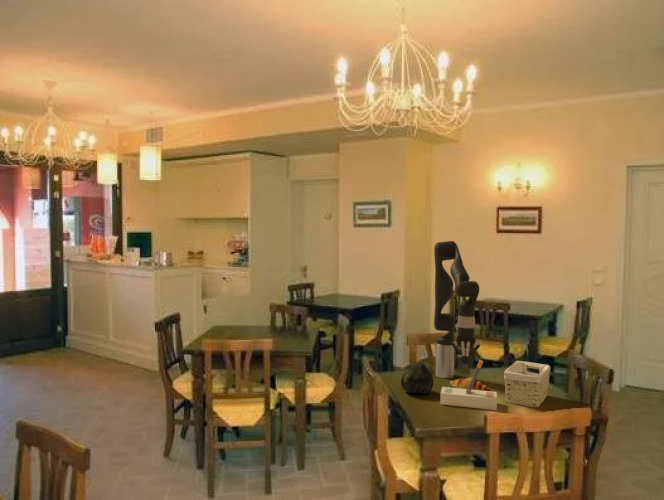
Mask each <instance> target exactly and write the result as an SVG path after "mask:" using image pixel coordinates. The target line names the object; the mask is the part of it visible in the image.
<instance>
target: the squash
mask: <svg viewBox="0 0 664 500" xmlns="http://www.w3.org/2000/svg"><path fill="white" fill-rule="evenodd" d="M400 384H401V387H402V389H403V390H404V391H405V392H407V393H408V394H419V395H426V394H428V393H430V392H431V390H432V389H433V387H434V378H433V374H432V372H431V371H430V369H429V368H428V367H427V365H425V363H417V364H415V365H413V366H410V367H408V368H407V369H406V370H404V372H403V373H402V375H401V378H400Z"/></svg>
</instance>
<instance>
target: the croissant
mask: <svg viewBox="0 0 664 500" xmlns="http://www.w3.org/2000/svg"><path fill="white" fill-rule="evenodd" d="M472 377H473V376H472ZM472 377H468V378H459V379H454V380H451V381H449V384H450V386H451V387H452V388H460V389H467V387H469V385H470V382H471V380H472ZM472 390H481V391H491V390H492V388H490V387H487V385H485V384H483V383H482V382H481V381H479V380H478V379H477V378H476V380H475V383H474V385H473V388H472Z"/></svg>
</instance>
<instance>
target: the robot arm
mask: <svg viewBox="0 0 664 500" xmlns="http://www.w3.org/2000/svg"><path fill="white" fill-rule="evenodd" d="M433 247H434V248H433V250H434V252H433V254H434V255H433V256H434V268H435V270H434V271H435V273H434V274H435V276H434V277H435V278H434V301H435V303H434V316H433V317H434V318H433V319H434V320H433V325H434V329H435V330H436V331H440V332H447V333H446V334H444V335H441V336H438V337H437V338H436V344H435V345H436V347H435V348H436V349H435V353H436V354H435V376H436V377H437V378H441V379H452V378H454V370H455V369H454V367H455V366H454V365H455V364H454V363H455V351H456V353H457V355H460V356H461V363H462V364H463V365H468V364H469V361H470V356H473V355H474V354H475V353H476V352H477V351H478V349H479V348H480V347H481V344H480V343H478V342H477V341H476V338H475V336H476V335H475V333H476V331H475V330H476V319H475V314H476V313H475V311H476V305H477V300H478V297H479V295H480V294H479V293H480V285H479V283H478V282H477V281H474V280H470V275H469V273H468V272H467V270H466V268H465V266H464V263H463V260H462V255H461V252H460V250H459V247H458V245H457V243H456V242H455V241H454V240H453V241H452V240H449V241H440V242H436V243H435V244H434V246H433ZM451 260H453V262H452V263H451V265H450V269H449V272H450V274H449V273H448V271H447V270H446V269H445V267H444V266H443V261H451ZM454 292H455V295H456V296H458V297H460V298H468V299H467V300H465V301H461V302H460V303H459V304H458V314H457V316H458V317H457V323H456V316H455V314H454V313H448V312H444V313H443V312H442V311H443V309H444V307H445V305H446V304H448V302H449V301H450V300H451V299H452V297H453V295H454ZM456 325H457V326H456ZM455 327H457V330H456V329H455ZM455 330H456V331H457V334H456V339H455ZM458 346H459V347H460V348H459V347H458ZM472 347H473V348H472ZM471 348H472V349H471ZM460 349H461V350H460ZM470 349H471V351H470Z"/></svg>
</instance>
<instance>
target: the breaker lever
mask: <svg viewBox="0 0 664 500" xmlns="http://www.w3.org/2000/svg"><path fill="white" fill-rule="evenodd" d="M483 363H484V361H483V360H481V359H479V361H478V363H477V366H476V368H475V370H474V373H473V375H472V380H471V382H470V385H469V387H468V389H471V390H472V388H473V385H474V383H475V380H476V379H477V378H478V375H479V373H480V372H481V371H480V370H481V368H482V365H483Z"/></svg>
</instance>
